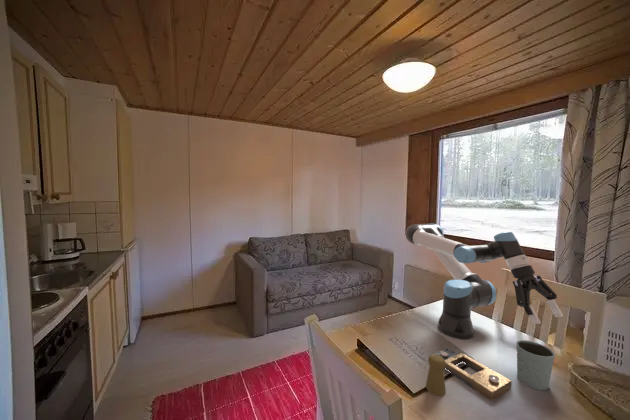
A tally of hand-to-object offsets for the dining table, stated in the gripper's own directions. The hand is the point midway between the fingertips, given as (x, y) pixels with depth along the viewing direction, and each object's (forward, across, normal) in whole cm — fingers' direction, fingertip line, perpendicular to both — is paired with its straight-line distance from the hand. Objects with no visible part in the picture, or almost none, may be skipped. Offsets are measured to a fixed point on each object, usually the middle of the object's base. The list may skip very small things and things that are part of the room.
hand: (548, 320), depth 103 cm
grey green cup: (+16, -19, +2) cm, 25 cm away
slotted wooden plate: (+10, -38, +11) cm, 40 cm away
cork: (+11, -54, +8) cm, 56 cm away
